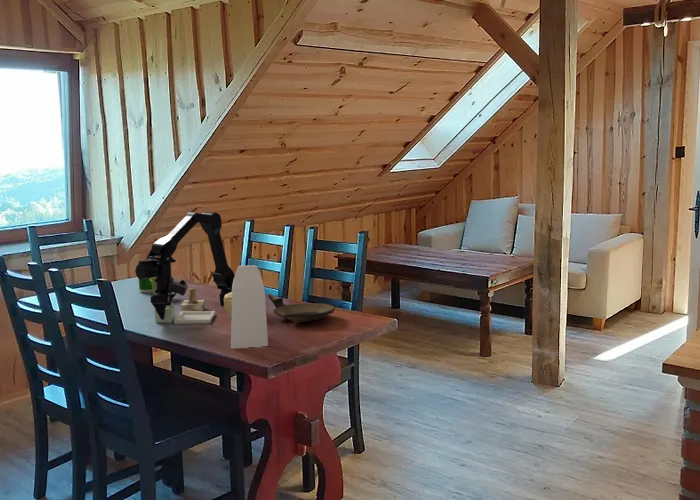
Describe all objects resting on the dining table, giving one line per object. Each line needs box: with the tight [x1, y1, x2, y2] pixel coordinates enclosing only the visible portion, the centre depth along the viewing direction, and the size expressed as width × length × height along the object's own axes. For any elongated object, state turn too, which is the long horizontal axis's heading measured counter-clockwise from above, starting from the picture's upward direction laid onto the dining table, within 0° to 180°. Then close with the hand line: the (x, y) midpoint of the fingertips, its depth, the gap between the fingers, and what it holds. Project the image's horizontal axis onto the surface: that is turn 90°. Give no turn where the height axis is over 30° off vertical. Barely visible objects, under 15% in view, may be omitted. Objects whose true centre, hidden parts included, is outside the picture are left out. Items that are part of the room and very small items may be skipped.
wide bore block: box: [180, 299, 206, 312], centre depth 273 cm, size 8×8×4 cm
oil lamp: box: [267, 293, 336, 323], centre depth 261 cm, size 22×30×8 cm
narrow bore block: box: [154, 304, 176, 323], centre depth 258 cm, size 6×6×5 cm
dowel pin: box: [188, 287, 197, 304], centre depth 272 cm, size 3×3×9 cm
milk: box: [230, 264, 269, 350], centre depth 228 cm, size 12×12×26 cm
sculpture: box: [223, 292, 232, 318], centre depth 263 cm, size 11×12×11 cm
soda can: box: [138, 277, 155, 294], centre depth 307 cm, size 8×8×12 cm
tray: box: [173, 310, 216, 325], centre depth 260 cm, size 13×13×2 cm
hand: (165, 316), depth 259 cm, fingers open, 9 cm apart
